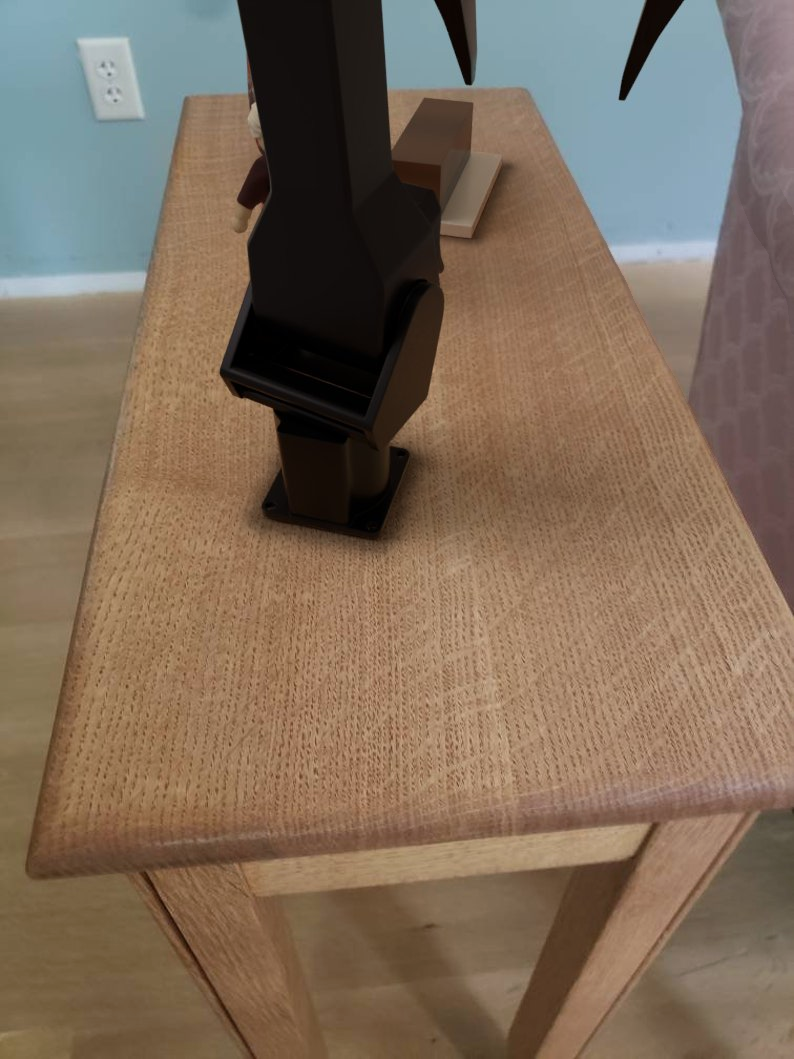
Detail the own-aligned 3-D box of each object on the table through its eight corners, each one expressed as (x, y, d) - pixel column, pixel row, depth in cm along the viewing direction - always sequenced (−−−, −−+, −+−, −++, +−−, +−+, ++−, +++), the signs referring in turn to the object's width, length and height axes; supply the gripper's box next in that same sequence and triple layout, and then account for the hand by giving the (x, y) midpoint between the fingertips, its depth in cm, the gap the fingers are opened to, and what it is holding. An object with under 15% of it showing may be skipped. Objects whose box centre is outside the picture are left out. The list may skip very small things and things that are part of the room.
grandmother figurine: (278, 320, 56) (252, 124, 47) (236, 300, 58) (203, 107, 49) (352, 269, 61) (341, 79, 51) (311, 252, 62) (293, 65, 53)
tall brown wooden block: (439, 221, 63) (440, 165, 60) (386, 214, 64) (385, 158, 60) (470, 155, 70) (473, 102, 67) (423, 150, 71) (423, 97, 68)
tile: (471, 239, 63) (472, 226, 62) (354, 223, 65) (354, 211, 64) (501, 166, 71) (502, 154, 70) (397, 154, 72) (397, 142, 72)
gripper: (790, -278, 43) (709, 55, 55) (432, -285, 47) (427, 30, 58) (797, -247, 36) (702, 128, 48) (374, -257, 40) (381, 95, 51)
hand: (544, 90), depth 51 cm, fingers open, 9 cm apart
